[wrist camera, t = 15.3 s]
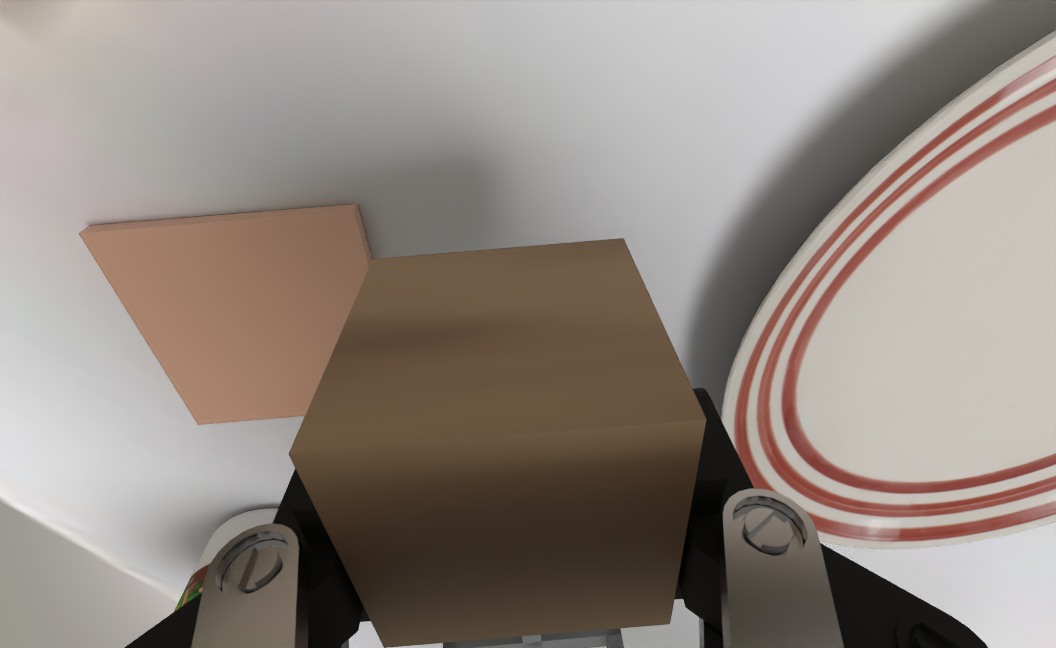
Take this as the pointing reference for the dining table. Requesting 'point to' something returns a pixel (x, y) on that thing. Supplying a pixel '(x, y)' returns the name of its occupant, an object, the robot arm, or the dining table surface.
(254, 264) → the coaster
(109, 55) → the dining table surface
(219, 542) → the milk bottle
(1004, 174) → the dinner plate
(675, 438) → the cube
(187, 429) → the dining table surface
